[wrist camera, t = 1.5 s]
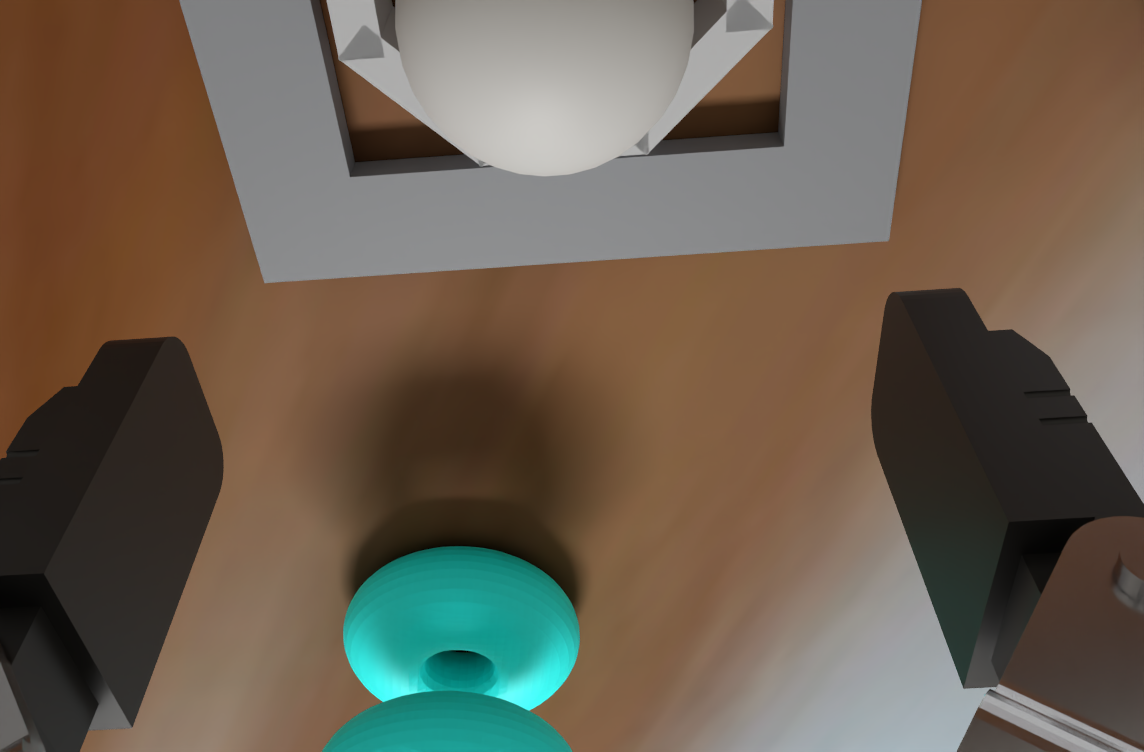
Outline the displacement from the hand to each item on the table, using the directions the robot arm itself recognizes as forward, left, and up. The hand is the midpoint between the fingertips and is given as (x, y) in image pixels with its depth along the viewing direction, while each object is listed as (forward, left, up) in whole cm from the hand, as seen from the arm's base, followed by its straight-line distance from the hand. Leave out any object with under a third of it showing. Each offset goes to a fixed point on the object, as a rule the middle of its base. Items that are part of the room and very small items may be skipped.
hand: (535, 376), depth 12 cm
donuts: (+28, -6, -20) cm, 35 cm away
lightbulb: (0, 0, -20) cm, 20 cm away
